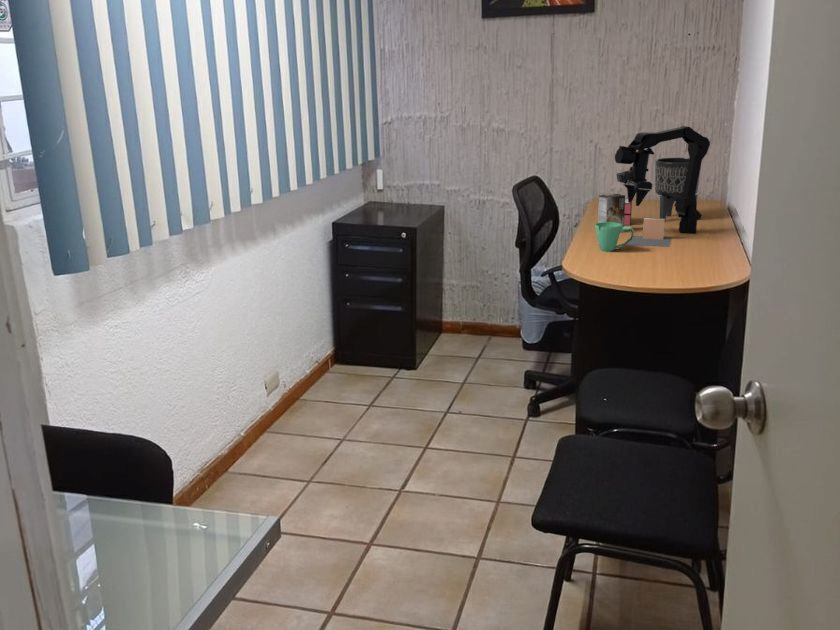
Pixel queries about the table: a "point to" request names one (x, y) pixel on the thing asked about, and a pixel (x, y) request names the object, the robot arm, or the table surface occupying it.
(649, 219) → the tile
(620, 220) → the coffee box
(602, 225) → the mug
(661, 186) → the planter
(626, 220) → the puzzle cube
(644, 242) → the mat
